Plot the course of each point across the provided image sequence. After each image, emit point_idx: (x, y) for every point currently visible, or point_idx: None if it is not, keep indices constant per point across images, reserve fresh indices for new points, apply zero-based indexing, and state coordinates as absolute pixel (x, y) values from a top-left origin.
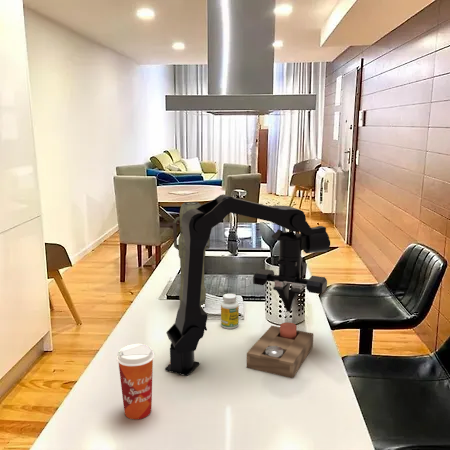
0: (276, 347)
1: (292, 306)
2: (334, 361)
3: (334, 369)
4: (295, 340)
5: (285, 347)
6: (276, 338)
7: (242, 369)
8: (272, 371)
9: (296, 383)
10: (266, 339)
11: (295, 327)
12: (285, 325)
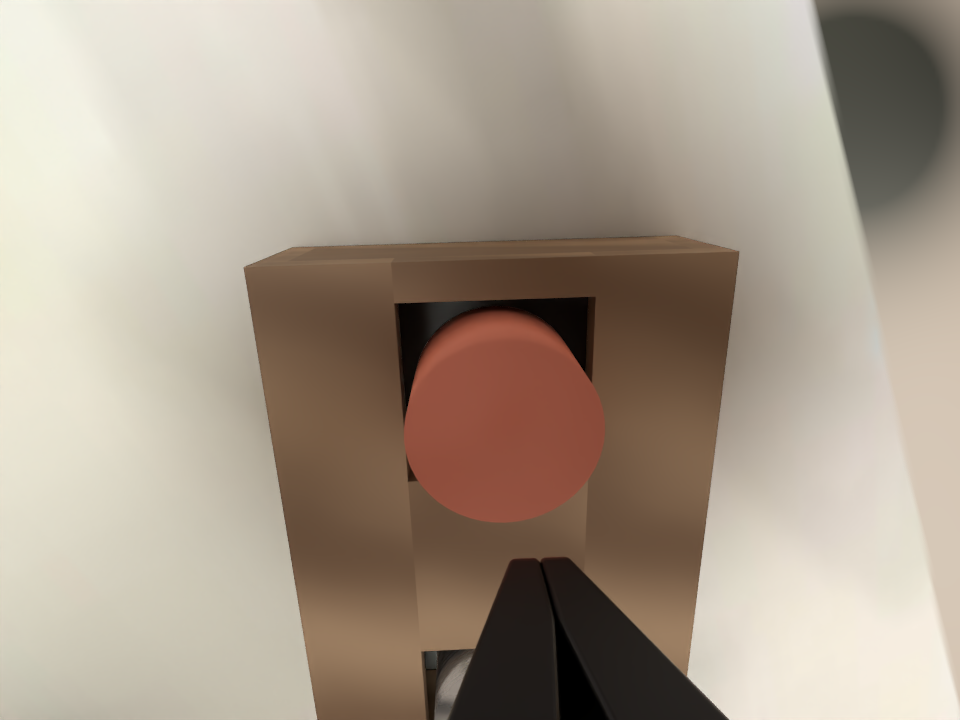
0: None
1: (615, 610)
2: (864, 386)
3: (867, 485)
4: (602, 478)
5: None
6: (427, 517)
7: None
8: None
9: None
10: (356, 571)
11: (598, 441)
12: (471, 446)
